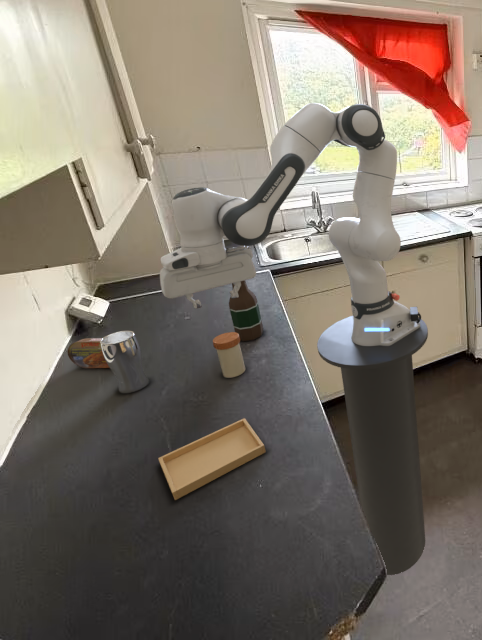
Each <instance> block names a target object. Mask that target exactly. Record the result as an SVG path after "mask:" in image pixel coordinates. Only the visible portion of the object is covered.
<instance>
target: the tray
mask: <svg viewBox="0 0 482 640" xmlns="http://www.w3.org/2000/svg"><path fill="white" fill-rule="evenodd" d="M266 452H267V451H266V447H265V444H264V443H263V441H262V440H261V439H260V437H259V436H258V435H257V433H256V432H255V430H254V429H253V428H252V426H251V425H250V423H249V421H248V420H247V418H245V417H243V418H242V419H239V420H238V421H235V422H233V423H231V424H229V425H227V426H224V427H222V428H220V429H218V430H216V431H214V432H211V433H209V434H207V435H205V436H203V437H201V438H199V439H197V440H194V441H192V442H190V443H188V444H186V445H184V446H181V447H178V448H176V449H175V450H173V451H170V452H168V453H166V454H164V455H162V456H160V457H158V458H157V459H158V462H159V465H160V467H161V470H162V472H163V475H164V477H165V480H166V482H167V484H168V487H169V489H170V492H171V494H172V496H173V499H174V501H177V500H179V499H180V498H182V497H184V496H186V495H188V494H190V493H192V492H194V491H196V490H197V489H199V488H201V487H203V486H205V485H207V484H209V483H210V482H212V481H215V480H216V479H218V478H220V477H222V476H224V475H226V474H227V473H229V472H231V471H233V470H235V469H237V468H238V467H241V466H243V465H244V464H246V463H248V462H250V461H252V460H254V459H255V458H257V457H259V456H262V455H264V454H265V453H266Z"/></svg>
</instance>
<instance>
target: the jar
mask: <svg viewBox="0 0 482 640" xmlns="http://www.w3.org/2000/svg"><path fill="white" fill-rule="evenodd" d="M215 350H216V354H217V357H218V361H219V364H220V365H219V366H220V368H221V373H222V377H224V378H228V379H230V378H236V377H238V376H241V375H242V374H243V373H245V372H246V364H245V360H244V356H243V352H242V347H241V343H239V344H238V345H236V346H234V347H232V348H229V349H224V350H218V349H215Z"/></svg>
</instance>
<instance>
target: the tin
mask: <svg viewBox="0 0 482 640" xmlns="http://www.w3.org/2000/svg"><path fill="white" fill-rule="evenodd" d="M102 338H103V337H89V338H88V337H86V338H82V339H79V340H77V341H75V342H73V343H71V344H70V345H69V346H68V347H67V357H68V358H69V361H71V362H72V363H73V364H74V365H75V366H77V367H79V368H82V369H110V367H109V366H108V364H107V362H106V360H105V358H104V355H103V352H102V348H101V344H100V340H101V339H102Z"/></svg>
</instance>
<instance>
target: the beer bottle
mask: <svg viewBox="0 0 482 640" xmlns="http://www.w3.org/2000/svg"><path fill="white" fill-rule="evenodd" d="M246 281H247V280H244V281H240V282H241V286H240V289H239V291H238V295H239V297H237V298H234V299H232V298H231V296H230V297H229V300H228V308H229V313H230V315H231V316H230V317H231V321H232V325H233V330H234V332H236V333H238V334H239V336H240V342H241V341H242V342H247V341H254V340H256V339H259V338H260V337H262V335H263V333H264V325H263V320H262V316H261V312H260V311H261V310H260V306H259V302H258V298H257V296H256V294H255V292H253V291H252V290H250V289H249V287H248V285H247V282H246ZM234 286H235V285H234V284H233V283H232V284H231V287H232V289H233V288H234Z"/></svg>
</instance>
